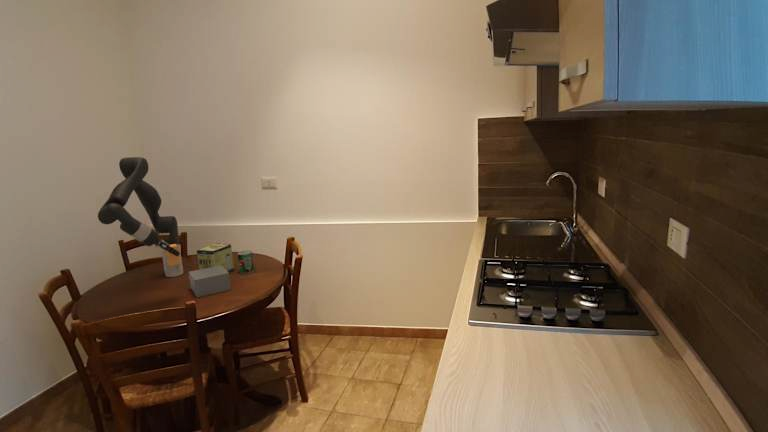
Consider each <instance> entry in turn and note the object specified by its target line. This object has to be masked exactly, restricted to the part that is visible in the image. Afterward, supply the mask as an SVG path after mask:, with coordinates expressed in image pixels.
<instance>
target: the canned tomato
mask: <svg viewBox="0 0 768 432" xmlns="http://www.w3.org/2000/svg"><path fill="white" fill-rule="evenodd" d="M237 260H238V270H239V273H240V274H243V275H244V274H251V273H254V272H255V267H254V266H255V265H254V257H253V251H252V250H242V251H241V250H240V251H238V252H237Z"/></svg>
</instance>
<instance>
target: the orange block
mask: <svg viewBox="0 0 768 432" xmlns="http://www.w3.org/2000/svg"><path fill="white" fill-rule="evenodd" d="M170 247H173V248H174V249H175V250H177V251H178V252H179V249H178V245H176V244H172V245H170ZM170 249H171V248H169V249H168V251H169V250H170ZM168 251H166V257H167V263H168V265H170V266H174V265H178V264H181V262H180V256H178V257H177V256H175V255H174V254H172V253H169V252H168Z"/></svg>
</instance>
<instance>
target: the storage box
mask: <svg viewBox="0 0 768 432" xmlns="http://www.w3.org/2000/svg"><path fill="white" fill-rule="evenodd" d="M188 278H189V284H190V285H189V286H190V289H191V291H192V292H193V294H194V295H195V297H196V298H200V297H205V296H211V295H213V294H219V293H222V292H227V291H231V290H232V286H231V285H232V284H231V278H230V272H228V271H227V270H226V269H225V268H224V267H223V266H222V265H220V266H215V267H210V268H205V269H200V270H199V269H195V270H191V271H188Z"/></svg>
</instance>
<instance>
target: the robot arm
mask: <svg viewBox="0 0 768 432" xmlns="http://www.w3.org/2000/svg"><path fill="white" fill-rule="evenodd" d="M118 164H119V170H120V172H121V174H122V176H123V177H124V180H122V181H121V182H119V183H118V184H117V185H116V186H115V187H114V188H113V190H112V191H111V193H110V194H109V197H108V199H107V200H106V201H105V203H104V204H103V205H102V206H101V208H100V209H99V211H98V213H97V219H98V220H99V222H100V223H101V224H103V225H111V224H114V223H115V222H116V221H118V222H120V224H119V228H120V230H121V231H123V232H125V233H126V234H128V235H129V236H130V237H132V238H133V239H135V240H137V241H138V242H140V243H142V244H144V245H145V246H147V247H152V246H155V247H157V249H158V248H159V249H161V251H160V252H161V257H162V262H163V269H164V273H165V274H164V276H165V277H167V278H173V277H179V276H181V275H183V274H184V268H183V263H182V262H183V261H182V255H181V249H180V240H179V239H180V237H179V229H178V228H179V226H178V221H177V220H178V219H177V218H176V217H175V216H174V215H170V216H166V215H165V216H160V214H159V211H160V208H161V205H162V198H161V196H160V193H159V192H158V190H157V189H156V187H154V186H153V185H152V184H150V183H148V182H147V181H145V180H143V179H144V178H145V177H146V175H147V174H148V172H149V162H148V160H147V158H144V157H143V156H141V157H140V156H138V157H137V156H136V157H135V156H133V157H123V158H121V159H120V161H119V163H118ZM133 191H134V193H135V194H136V196H137V198H138V201H139V202H140V203H141V205H142V207H143V208H144V209H145V211H146V214H147V215H148V217H149V219H150V222H151V224H152V227H153V228H152V227H150V226H148V225H147V224H146V223H143V222H141V221H140V220H138V219H137V218H134V217H133V216H132V214H131V213H129V212H128V210H126V208H124V207H125V206H126V205H127V203H128V201H129V198H130V197H131V195H132V194H133ZM160 234H168V235H169V236H168V237H166V238H164V239H162V238H159V237H160ZM172 244H176V245H178V249H179V252H178V251H177V250H175V249H174V248H173V247H170V245H172ZM169 248H171V249H170V250H169V251H168V249H169ZM166 251H168V252H169V253H172V254H174V255H175V256H177V257H178V256H180V262H181V264H178V265H174V266H170V265H168V263H167V257H166Z"/></svg>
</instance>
